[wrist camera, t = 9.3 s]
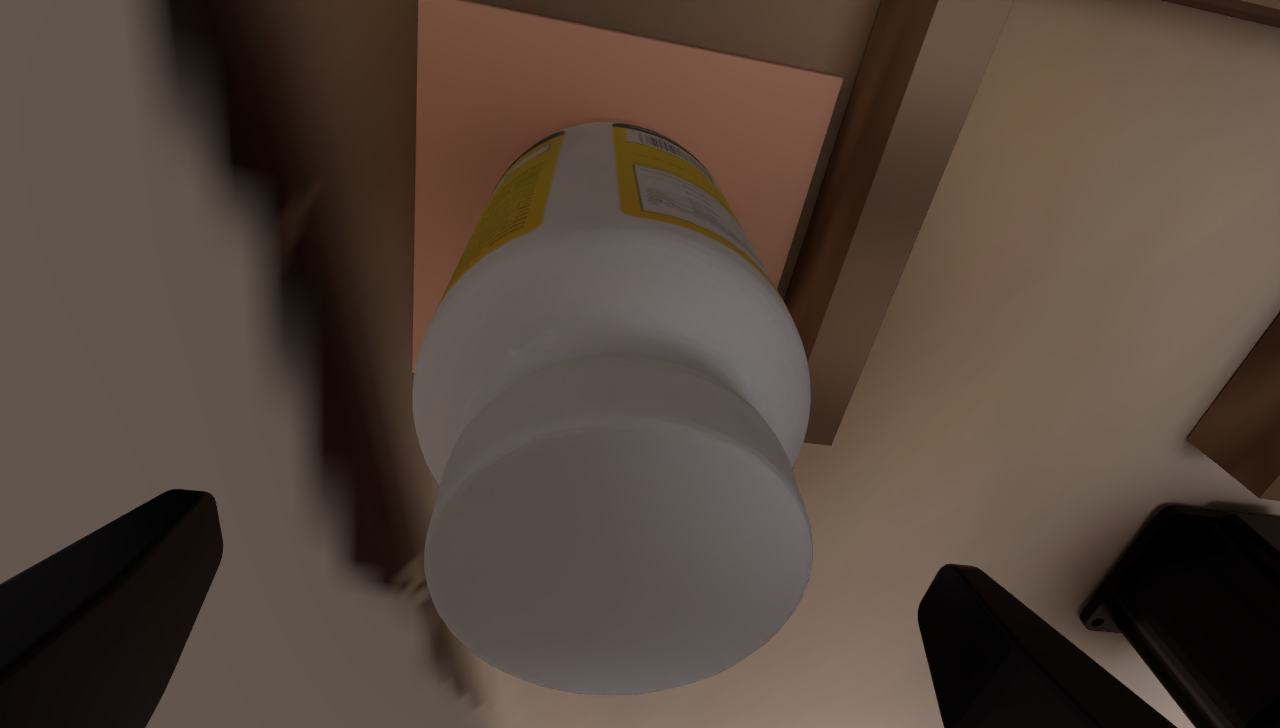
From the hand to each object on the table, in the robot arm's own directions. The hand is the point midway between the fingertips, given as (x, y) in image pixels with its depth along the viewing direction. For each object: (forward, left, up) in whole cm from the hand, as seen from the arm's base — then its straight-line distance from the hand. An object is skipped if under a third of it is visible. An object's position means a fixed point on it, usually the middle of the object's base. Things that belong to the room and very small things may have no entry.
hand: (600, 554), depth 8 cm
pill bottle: (0, 0, -11) cm, 11 cm away
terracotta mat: (0, 0, -12) cm, 12 cm away
